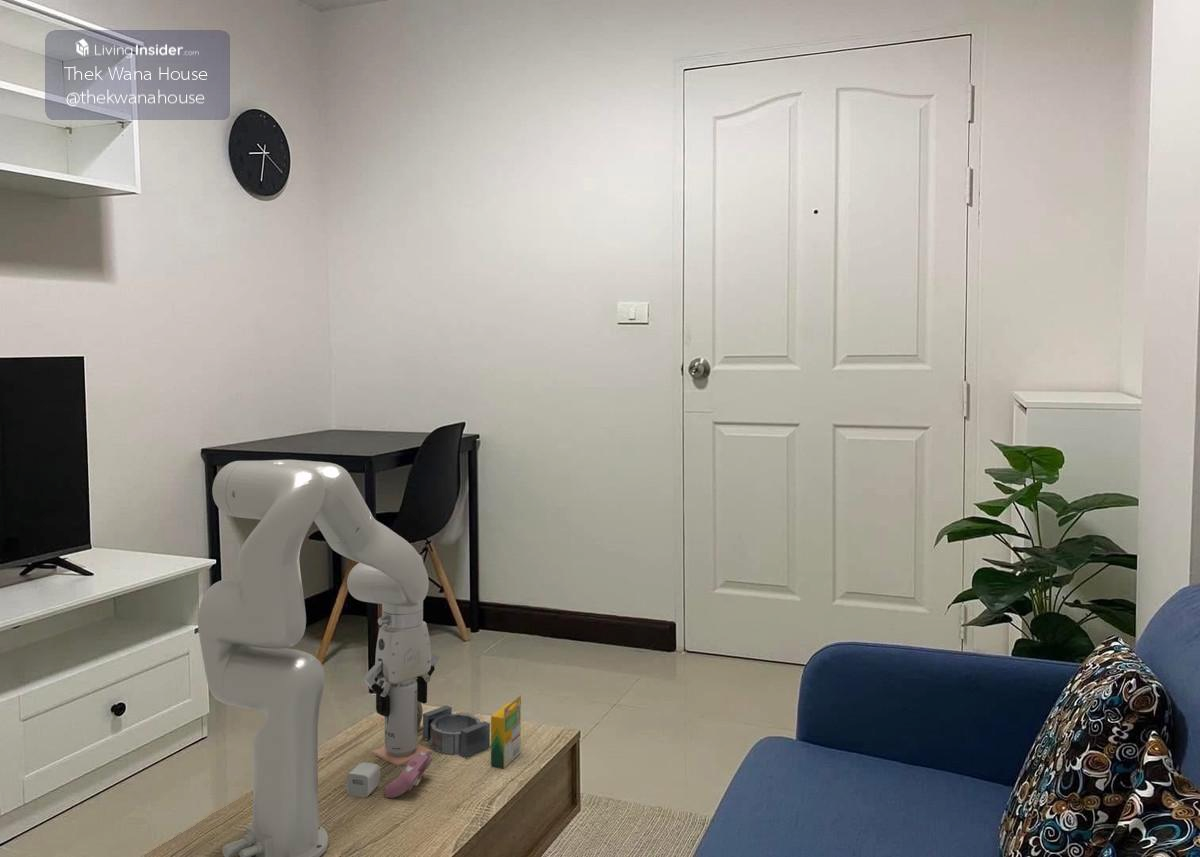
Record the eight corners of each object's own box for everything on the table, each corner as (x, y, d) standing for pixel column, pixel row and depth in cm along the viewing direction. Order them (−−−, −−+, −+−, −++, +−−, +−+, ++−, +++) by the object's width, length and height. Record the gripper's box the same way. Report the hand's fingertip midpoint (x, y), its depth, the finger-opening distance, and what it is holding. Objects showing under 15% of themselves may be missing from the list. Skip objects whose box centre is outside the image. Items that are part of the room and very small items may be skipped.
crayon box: (506, 750, 184) (507, 692, 183) (521, 753, 183) (522, 694, 182) (489, 766, 177) (490, 706, 176) (504, 769, 176) (505, 708, 175)
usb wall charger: (347, 794, 165) (347, 772, 165) (365, 776, 172) (365, 755, 171) (368, 798, 164) (368, 775, 164) (386, 779, 171) (386, 758, 171)
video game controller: (402, 809, 164) (420, 777, 162) (380, 795, 164) (397, 762, 163) (423, 783, 173) (440, 752, 172) (402, 770, 174) (419, 738, 173)
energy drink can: (382, 746, 183) (382, 671, 181) (413, 741, 185) (413, 667, 184) (388, 760, 177) (387, 682, 176) (420, 755, 180) (420, 678, 178)
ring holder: (496, 745, 186) (496, 720, 186) (458, 761, 179) (459, 735, 178) (453, 726, 194) (453, 702, 194) (415, 740, 187) (415, 716, 186)
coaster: (397, 766, 176) (397, 764, 176) (371, 753, 181) (371, 750, 181) (431, 752, 182) (431, 750, 182) (405, 740, 187) (405, 738, 187)
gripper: (376, 633, 170) (376, 727, 172) (451, 612, 183) (450, 700, 185) (351, 623, 175) (351, 715, 176) (426, 604, 188) (425, 690, 190)
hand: (402, 707), depth 181 cm, fingers open, 8 cm apart
